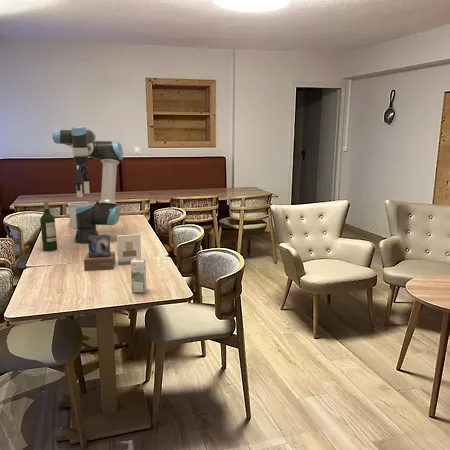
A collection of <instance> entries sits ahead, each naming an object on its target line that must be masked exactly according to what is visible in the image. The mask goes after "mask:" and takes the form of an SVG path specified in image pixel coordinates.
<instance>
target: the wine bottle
mask: <svg viewBox="0 0 450 450" xmlns="http://www.w3.org/2000/svg"><path fill="white" fill-rule="evenodd" d="M39 220H40V230H41V231H40V232H41V242H42V243H41V244H42V250H43V252H54V251H57V250H58V242H57V241H58V240H57V239H58V238H57V228H56V217H55V216H54V215H53V214H51V212H50V203H49V199H45V198H44V199H43V214H42V215H41V217H40V218H39Z"/></svg>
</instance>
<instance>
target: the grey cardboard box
mask: <svg viewBox="0 0 450 450" xmlns="http://www.w3.org/2000/svg"><path fill="white" fill-rule="evenodd" d="M116 243H117V244H116V245H117V246H116V247H117V263H118V266H126V265H131V260H132V259H133V258H142V247H141V245H142V244H141V234H139V233H136V234H122V235H119V234H118V235H116Z"/></svg>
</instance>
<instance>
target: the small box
mask: <svg viewBox="0 0 450 450" xmlns="http://www.w3.org/2000/svg"><path fill="white" fill-rule="evenodd" d="M110 243H111V241H110V234H99V235H90V236H89V237H88V243H87V245H88V253H89V258H93V257H110V252H111V244H110Z"/></svg>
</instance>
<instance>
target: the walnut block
mask: <svg viewBox="0 0 450 450" xmlns="http://www.w3.org/2000/svg"><path fill="white" fill-rule="evenodd" d="M115 264H116V252H115V251H110V257H93V258H89V252H88V253H87V254H86V255H85V258H84V259H83V267H84V272H90V271H110V270H111V271H112V270H114V269H115V268H114V267H115Z"/></svg>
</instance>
